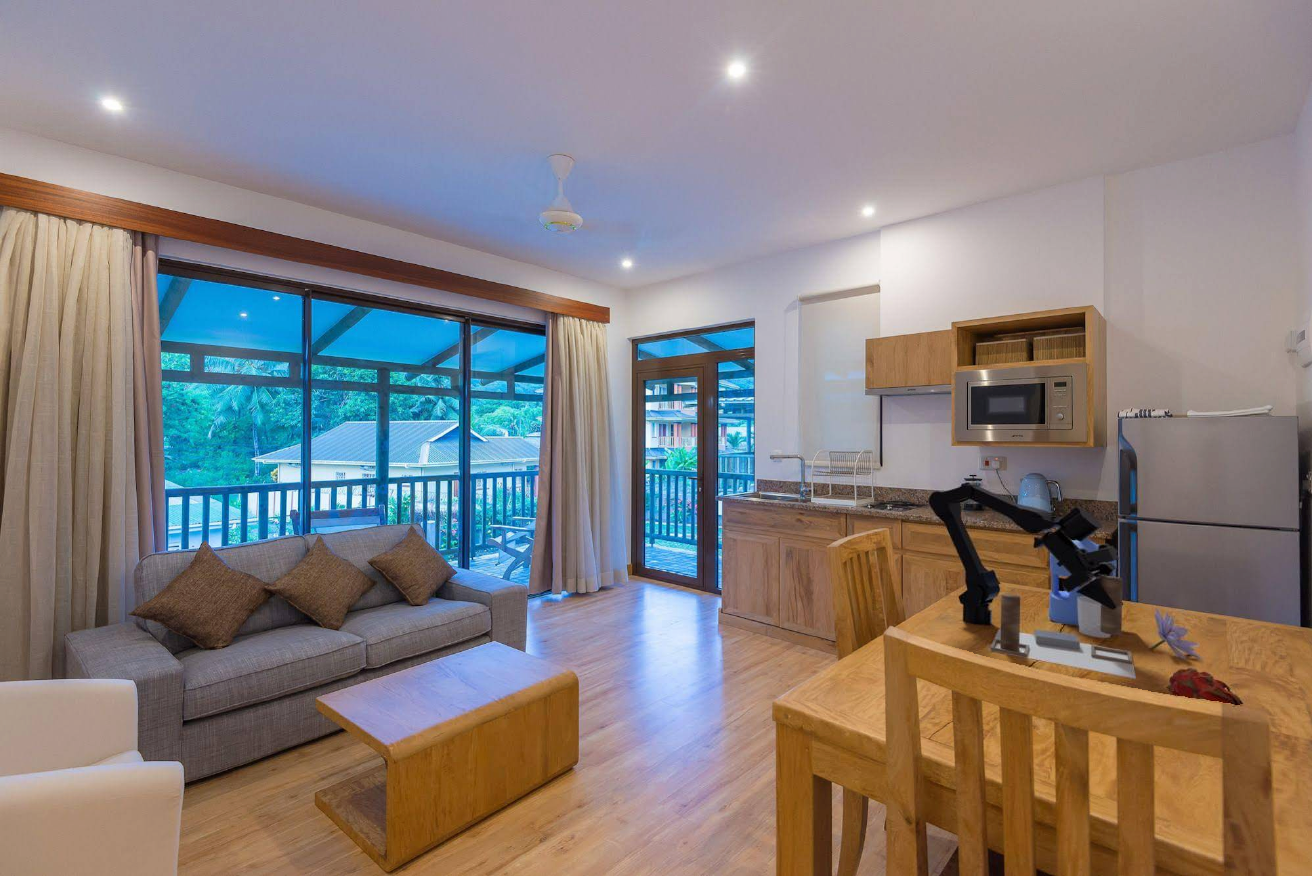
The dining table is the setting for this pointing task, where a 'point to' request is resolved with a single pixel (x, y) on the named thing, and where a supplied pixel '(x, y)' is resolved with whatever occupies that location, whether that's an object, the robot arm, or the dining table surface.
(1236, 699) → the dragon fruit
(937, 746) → the dining table surface
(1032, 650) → the board
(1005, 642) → the pin
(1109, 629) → the pin
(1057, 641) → the cover
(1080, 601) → the white cup
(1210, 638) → the dining table surface
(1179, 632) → the water lily
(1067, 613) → the water jug
